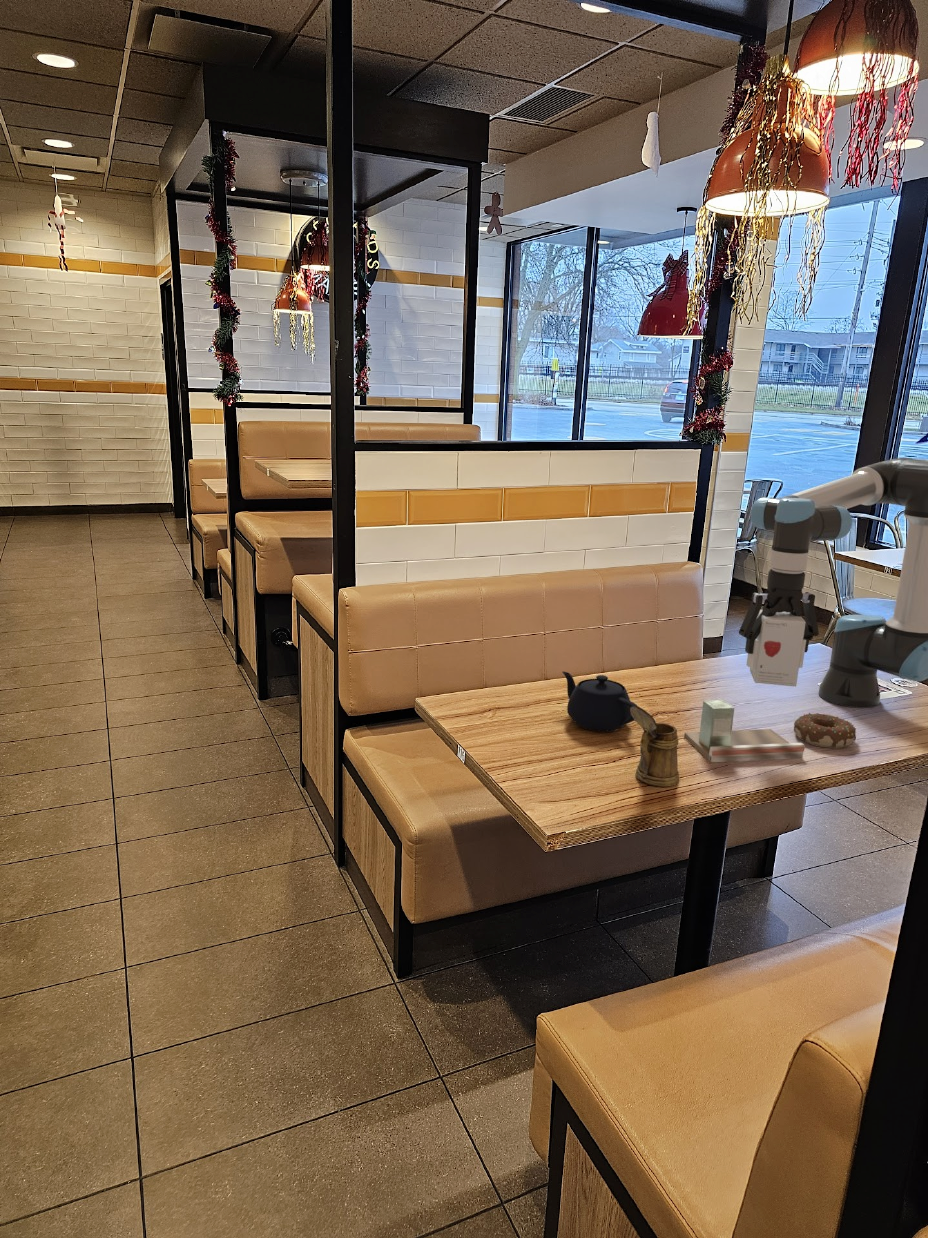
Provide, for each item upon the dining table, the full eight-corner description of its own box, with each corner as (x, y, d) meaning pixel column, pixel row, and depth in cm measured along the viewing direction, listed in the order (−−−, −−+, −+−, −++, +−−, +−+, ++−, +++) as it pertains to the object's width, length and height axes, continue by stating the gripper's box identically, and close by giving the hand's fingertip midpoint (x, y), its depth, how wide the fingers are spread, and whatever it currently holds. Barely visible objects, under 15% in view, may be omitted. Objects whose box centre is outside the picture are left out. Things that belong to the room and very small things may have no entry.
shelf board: (769, 733, 200) (771, 721, 199) (803, 758, 187) (805, 745, 186) (684, 737, 196) (685, 724, 195) (711, 763, 183) (713, 749, 182)
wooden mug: (611, 780, 173) (618, 699, 168) (654, 765, 181) (662, 686, 176) (645, 797, 166) (653, 712, 161) (687, 780, 174) (696, 699, 169)
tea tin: (719, 740, 192) (723, 700, 189) (729, 750, 187) (734, 708, 184) (698, 741, 191) (703, 700, 188) (708, 751, 186) (713, 709, 183)
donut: (857, 755, 190) (860, 735, 188) (792, 745, 194) (795, 725, 193) (852, 733, 203) (855, 714, 201) (792, 724, 207) (795, 705, 206)
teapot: (656, 732, 199) (661, 684, 196) (612, 747, 190) (616, 696, 186) (581, 701, 218) (585, 656, 215) (537, 713, 209) (540, 666, 205)
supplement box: (754, 683, 184) (762, 618, 180) (748, 671, 193) (756, 608, 189) (797, 687, 182) (806, 621, 179) (790, 674, 191) (798, 611, 187)
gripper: (825, 566, 186) (811, 660, 192) (729, 566, 183) (718, 662, 188) (845, 573, 179) (831, 670, 185) (746, 573, 175) (734, 673, 181)
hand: (774, 666), depth 187 cm, fingers closed on supplement box, 11 cm apart
